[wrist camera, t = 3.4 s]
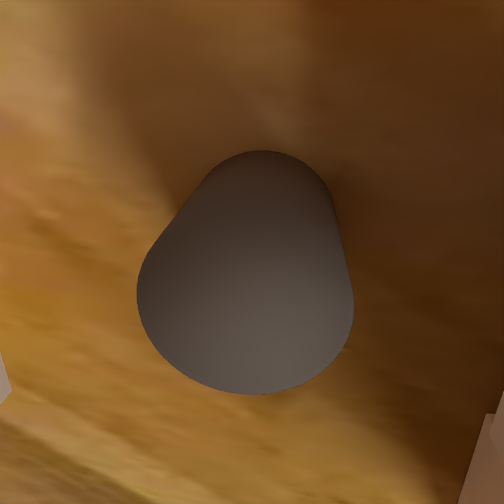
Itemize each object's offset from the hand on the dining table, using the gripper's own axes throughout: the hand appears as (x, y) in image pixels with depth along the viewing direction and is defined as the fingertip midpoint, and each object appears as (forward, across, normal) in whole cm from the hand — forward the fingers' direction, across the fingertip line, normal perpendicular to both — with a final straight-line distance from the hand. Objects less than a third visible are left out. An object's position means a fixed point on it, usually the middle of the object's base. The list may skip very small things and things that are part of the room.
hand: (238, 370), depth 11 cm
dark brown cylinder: (+11, 0, 0) cm, 11 cm away
